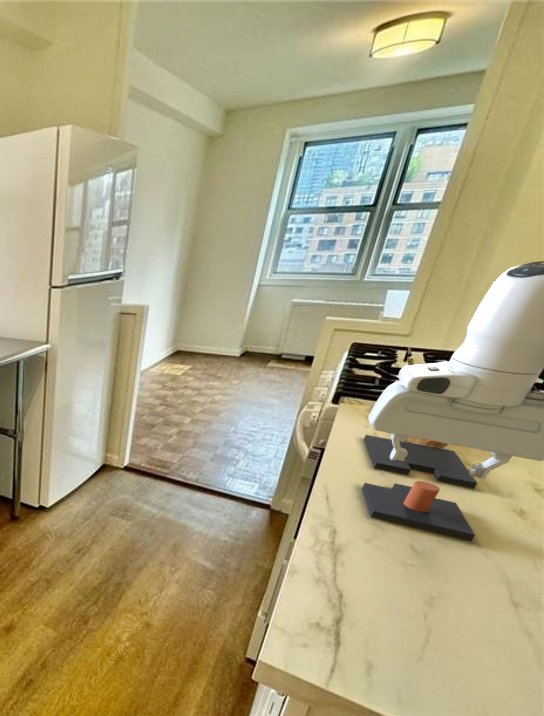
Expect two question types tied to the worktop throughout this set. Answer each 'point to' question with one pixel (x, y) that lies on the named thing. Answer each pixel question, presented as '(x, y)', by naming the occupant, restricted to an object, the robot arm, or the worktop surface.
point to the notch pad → (420, 461)
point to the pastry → (426, 442)
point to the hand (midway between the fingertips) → (434, 467)
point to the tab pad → (405, 516)
